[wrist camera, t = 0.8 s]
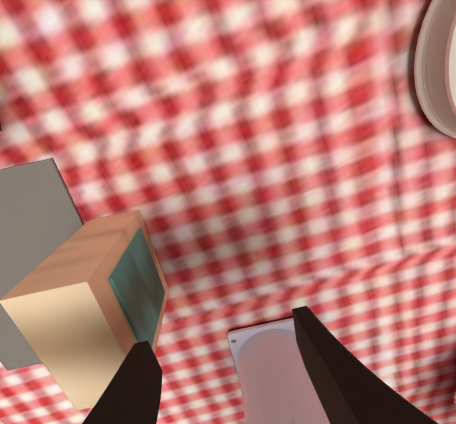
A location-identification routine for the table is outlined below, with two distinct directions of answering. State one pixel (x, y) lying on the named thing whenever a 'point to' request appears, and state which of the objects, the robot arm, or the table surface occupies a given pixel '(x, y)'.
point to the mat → (29, 239)
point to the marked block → (92, 304)
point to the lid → (437, 66)
